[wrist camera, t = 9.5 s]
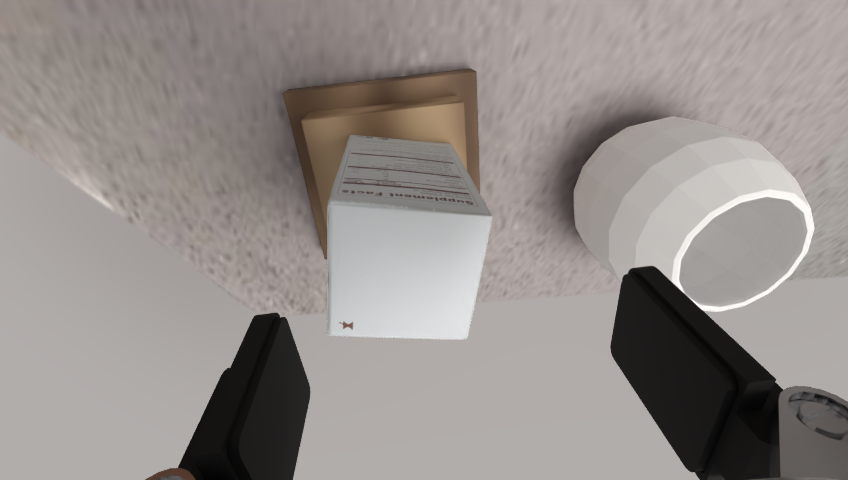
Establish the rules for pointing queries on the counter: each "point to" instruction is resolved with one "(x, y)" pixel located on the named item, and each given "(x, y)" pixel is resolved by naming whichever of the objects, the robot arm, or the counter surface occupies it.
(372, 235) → the supplement box
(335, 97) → the plinth
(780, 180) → the white vase
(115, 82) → the counter surface
